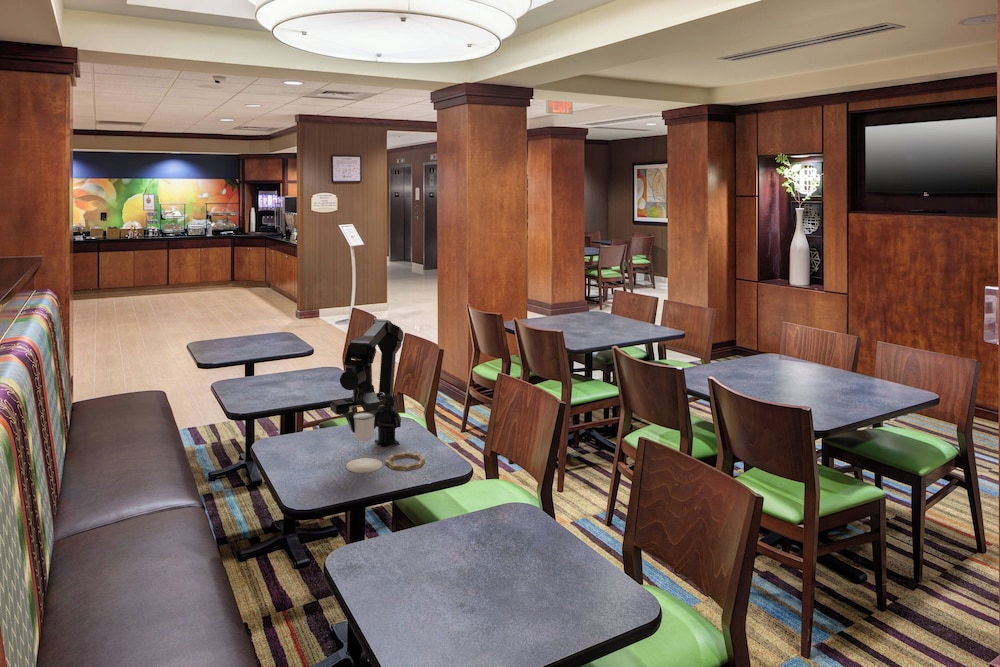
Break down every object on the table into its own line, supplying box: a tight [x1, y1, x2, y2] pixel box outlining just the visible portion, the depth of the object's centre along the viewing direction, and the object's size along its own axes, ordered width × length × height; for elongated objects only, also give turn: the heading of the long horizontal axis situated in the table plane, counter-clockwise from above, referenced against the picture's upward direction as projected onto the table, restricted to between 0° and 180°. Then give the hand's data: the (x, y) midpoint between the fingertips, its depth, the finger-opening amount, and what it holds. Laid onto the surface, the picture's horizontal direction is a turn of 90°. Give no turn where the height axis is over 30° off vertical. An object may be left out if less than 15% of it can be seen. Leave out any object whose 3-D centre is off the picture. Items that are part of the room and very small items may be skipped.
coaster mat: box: [345, 457, 383, 474], centre depth 222 cm, size 11×11×1 cm
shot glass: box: [353, 412, 375, 442], centre depth 219 cm, size 7×7×7 cm
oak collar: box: [385, 451, 426, 472], centre depth 225 cm, size 11×11×1 cm
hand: (363, 430), depth 220 cm, fingers closed on shot glass, 6 cm apart
